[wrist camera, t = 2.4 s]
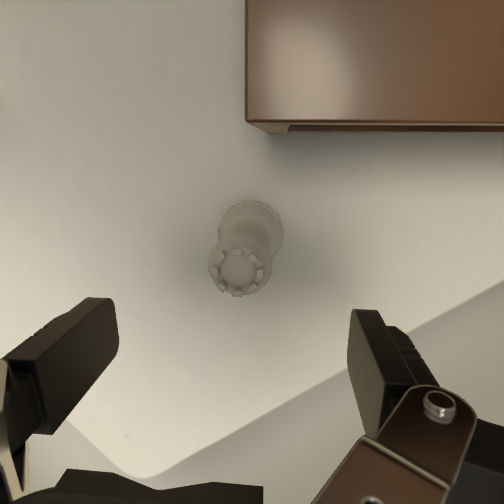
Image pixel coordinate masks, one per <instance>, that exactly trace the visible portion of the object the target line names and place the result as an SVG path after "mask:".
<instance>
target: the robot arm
mask: <svg viewBox="0 0 504 504" xmlns="http://www.w3.org/2000/svg"><path fill="white" fill-rule="evenodd" d="M118 347H119V334H118V327H117V320H116V313H115V306H114V302H113V300H112V299H110V298H93V297H88V298H86V299H84V300H83V301H82V302H80V303H79V304H78V305H77V306H75V307H74V308H73V309H71V310H70V311H69V312H67V313H65V314H62V315H60V316H58V317H56V318H54V319H53V320H52V321H50V322H49V323H48V324H46V325H45V326H44V327H43V329H40V330H38V331H37V332H36V333H34V335H33V336H30V337H29V338H28V339H26V340H25V341H24V342H22V343H21V344H20V345H19V346H17V347H16V348H15V349H13V350H12V351H11V352H9V353H8V354H7V355H5V356H4V357H3V358H1V359H0V504H263V486H252V485H242V484H241V485H240V484H230V483H220V482H219V483H218V482H209V483H204V484H197V485H190V486H184V487H178V488H172V489H166V490H155V489H152V488H150V487H147V486H145V485H142V484H140V483H137V482H135V481H132V480H130V479H128V478H125V477H123V476H120V475H118V474H115V473H111V472H100V471H99V472H98V471H89V470H78V469H67V470H66V471H65V473H64V474H63V475H62V477H61V478H60V480H59V481H58V483H57V484H56V486H55V487H52V488H48V489H44V490H40V491H37V492H34V493H31V494H29V445H28V441H27V439H28V438H29V437H30V436H31V435H32V433H33V434H46V435H53V434H54V432H55V431H56V430H57V429H58V427H59V426H60V425H61V424H62V422H63V421H64V420H65V419H66V417H67V416H68V415H69V414H70V412H71V411H72V410H73V409H74V407H75V406H76V405H77V404H78V402H79V401H80V400H81V399H82V397H83V396H84V395H85V394H86V392H87V391H88V390H89V389H90V387H91V386H92V385H93V384H94V382H95V381H96V380H97V379H98V377H99V376H100V375H101V374H102V372H103V371H104V370H105V369H106V367H107V366H108V365H109V364H110V362H111V361H112V360H113V359H114V357H115V356H116V354H117V351H118ZM347 365H348V372H349V375H350V379H351V383H352V386H353V390H354V394H355V397H356V401H357V404H358V408H359V411H360V415H361V419H362V423H363V426H364V430H365V434H366V435H363V436H361V437H360V438H359V439H358V440H357V442H356V443H355V444H354V446H353V447H352V448H351V450H350V451H349V452H348V454H347V455H346V457H345V458H344V459H343V461H342V462H341V463H340V465H339V466H338V467H337V469H336V470H335V471H334V473H333V474H332V475H331V477H330V478H329V479H328V481H327V482H326V484H325V485H324V486H323V487H322V489H321V490H320V492H319V493H318V494H317V495H316V497H315V498H314V500H313V501H312V502H311V504H504V427H503V426H500V425H496V424H493V423H489V422H486V421H483V420H481V419H478V418H477V416H476V413H475V411H474V410H473V408H472V407H471V406H470V405H469V404H468V403H467V402H466V401H465V400H464V399H462V398H461V397H460V396H458V395H456V394H455V393H453V392H451V391H449V390H446V389H443V388H441V387H440V386H439V384H438V383H437V381H436V380H435V378H434V376H433V375H432V373H431V371H430V370H429V368H428V367H427V365H426V363H425V362H424V360H423V359H422V358H421V356H420V354H419V353H418V351H417V349H415V346H414V345H413V343H412V341H411V340H410V338H409V337H408V335H406V334H405V333H403V332H402V331H401V330H399V329H398V328H397V327H395V326H386V325H385V323H384V321H383V319H382V317H381V316H380V314H379V312H378V311H377V310H363V309H353V310H352V313H351V319H350V329H349V339H348V349H347Z"/></svg>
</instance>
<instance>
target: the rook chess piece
mask: <svg viewBox="0 0 504 504" xmlns="http://www.w3.org/2000/svg"><path fill="white" fill-rule="evenodd" d="M282 236H283V227H282V224H281V222H280V219H279V217H278V215H277V214H276V213H275V212H274V211H273V210H272V209H271V208H270V207H269V206H266V205H264V204H262V203H259V202H251V201H244V202H242V203H239V204H237V205H234V206H232V207H231V208H230V209H229V210H228V211H227V212H226V213H225V214H224V216H223V218H222V221H221V223H220V226H219V229H218V241H219V242H218V243H217V244H216V245H215V246H214V247H213V248H212V251H211V253H210V256H209V258H208V270H209V273H210V275H211V277H212V279H213V282H214V283H215V284H217V285H216V286H217V287H218V288H219V289H220V290H221V291H222V292H224V291H226V292H228V293H231V294H233V296H234V297H242V296H243V295H248V294H252V293H254V292H257V291H258V290H259V289H260V288H262V287H263V286H264V285H265V284H266V283H267V280H268V278H269V276H270V274H271V260H270V259H271V258H273V257H274V256H275V255H276V254H277V251H278V249H279V247H280V245H281V242H282Z"/></svg>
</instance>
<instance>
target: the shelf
mask: <svg viewBox="0 0 504 504" xmlns="http://www.w3.org/2000/svg"><path fill="white" fill-rule="evenodd" d="M245 121H246V122H247V123H249V124H251V125H253V126H255V127H257V128H258V129H260V130H262V131H264V132H266V133H268V134H286V132H287V131H288V132H377V133H504V0H245Z"/></svg>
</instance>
